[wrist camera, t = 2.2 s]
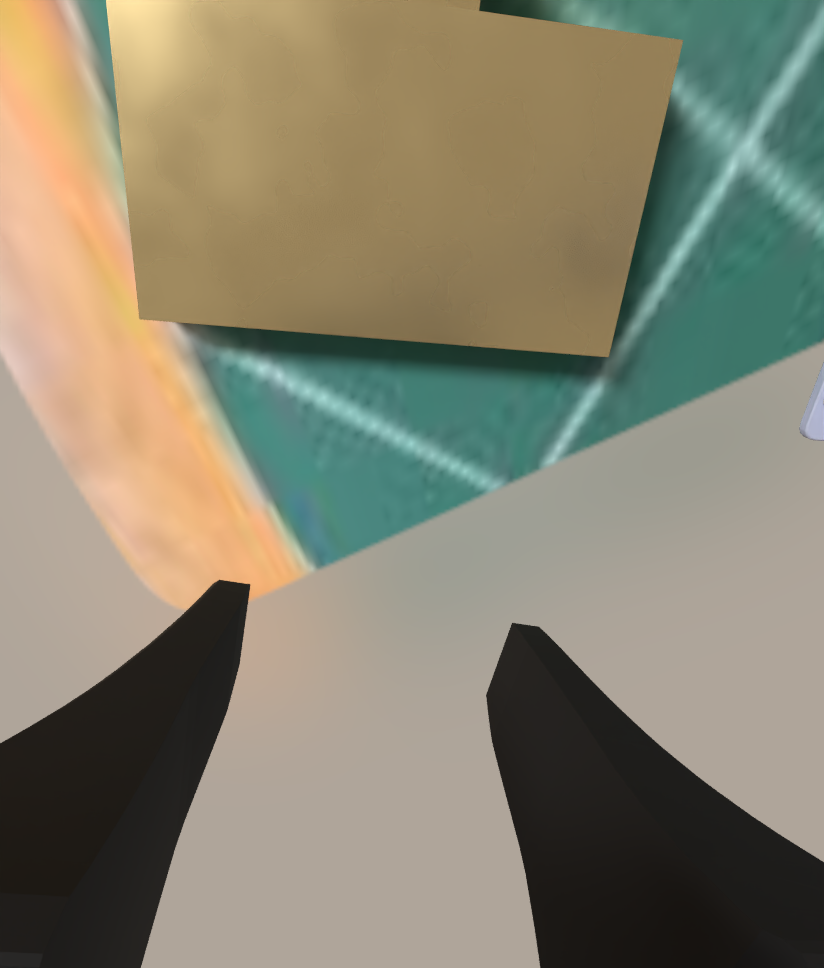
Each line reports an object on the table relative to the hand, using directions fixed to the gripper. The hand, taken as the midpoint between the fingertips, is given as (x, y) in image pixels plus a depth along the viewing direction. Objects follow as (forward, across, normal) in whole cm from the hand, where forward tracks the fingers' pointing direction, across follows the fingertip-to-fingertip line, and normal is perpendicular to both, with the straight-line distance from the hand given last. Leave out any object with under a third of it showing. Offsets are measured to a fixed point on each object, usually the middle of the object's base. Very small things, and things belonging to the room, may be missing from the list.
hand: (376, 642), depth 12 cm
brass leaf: (+9, +2, -11) cm, 15 cm away
